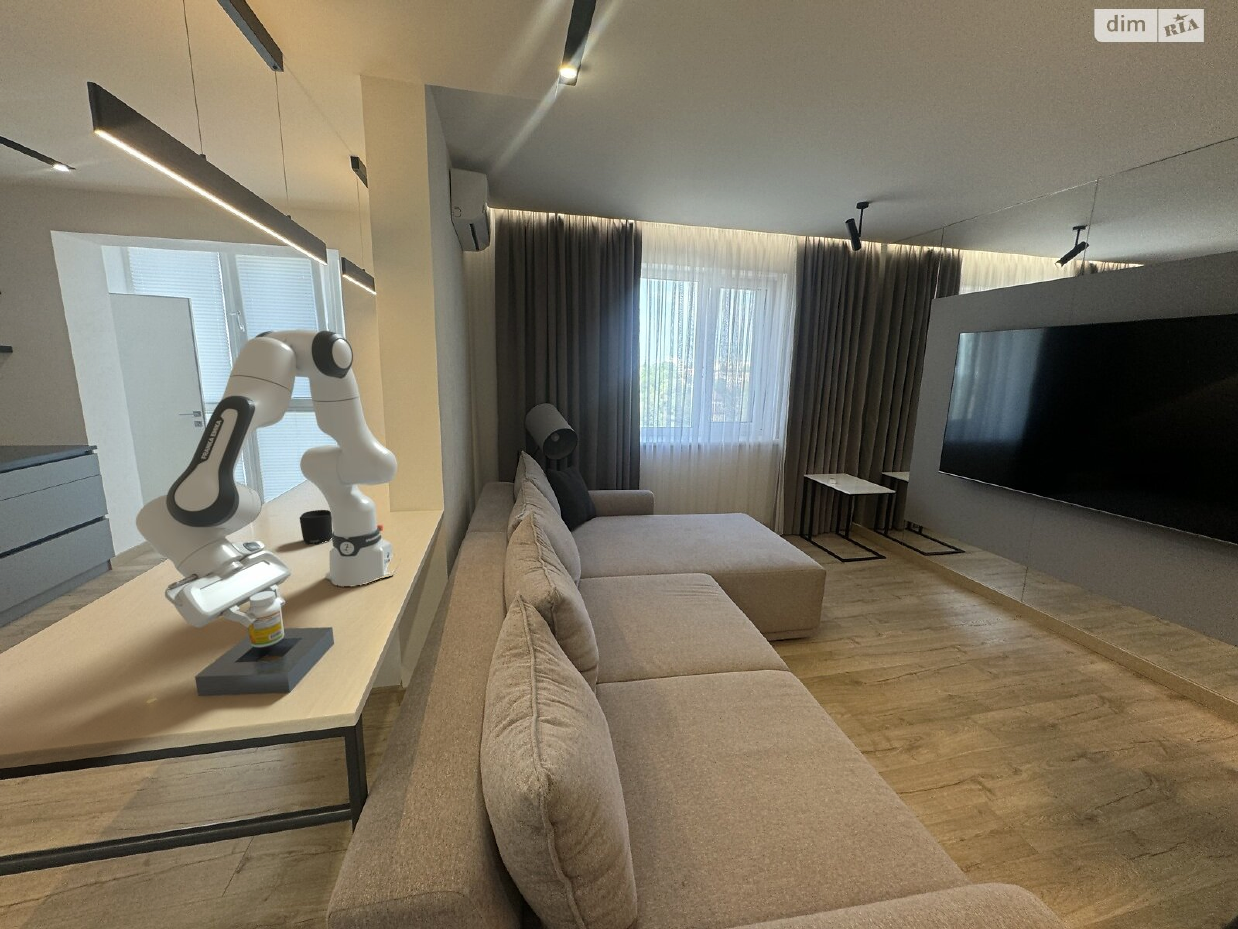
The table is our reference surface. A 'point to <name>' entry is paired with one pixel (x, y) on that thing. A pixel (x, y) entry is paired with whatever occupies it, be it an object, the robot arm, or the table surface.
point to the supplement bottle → (265, 619)
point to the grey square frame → (265, 664)
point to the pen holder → (316, 526)
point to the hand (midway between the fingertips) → (267, 614)
